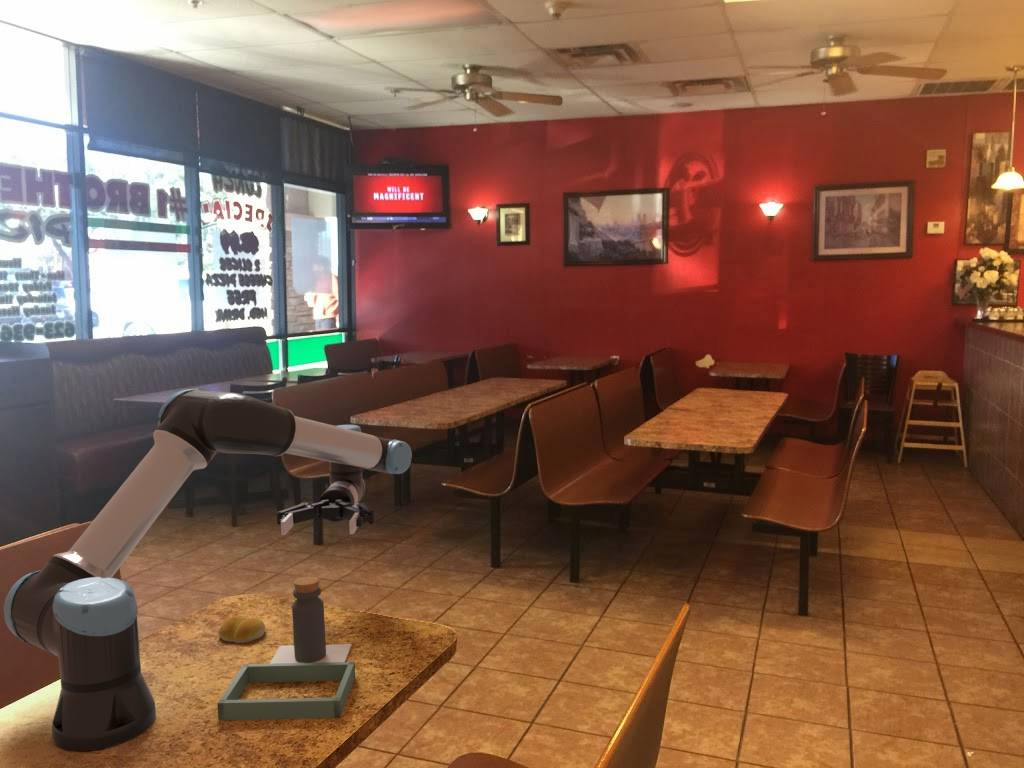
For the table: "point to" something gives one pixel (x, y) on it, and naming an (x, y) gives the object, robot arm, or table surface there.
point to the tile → (332, 655)
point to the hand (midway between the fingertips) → (317, 528)
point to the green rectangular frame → (287, 707)
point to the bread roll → (241, 629)
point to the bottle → (308, 620)
